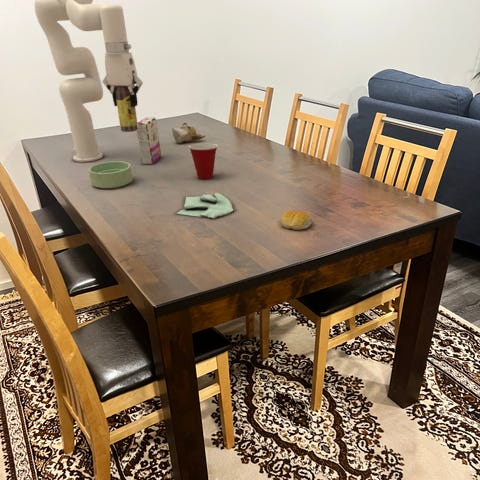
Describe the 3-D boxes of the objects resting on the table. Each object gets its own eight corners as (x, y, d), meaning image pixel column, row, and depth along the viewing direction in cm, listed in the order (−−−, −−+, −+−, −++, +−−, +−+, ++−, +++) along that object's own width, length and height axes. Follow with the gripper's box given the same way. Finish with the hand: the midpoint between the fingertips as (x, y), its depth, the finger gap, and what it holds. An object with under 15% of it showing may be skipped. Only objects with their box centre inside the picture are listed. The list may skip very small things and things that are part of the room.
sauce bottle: (133, 133, 172) (124, 71, 161) (118, 132, 174) (107, 71, 162) (141, 128, 177) (133, 68, 166) (126, 128, 179) (116, 68, 167)
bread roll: (288, 217, 147) (288, 205, 145) (314, 222, 143) (315, 210, 141) (275, 227, 142) (275, 214, 140) (302, 232, 138) (302, 219, 135)
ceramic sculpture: (166, 122, 225) (194, 119, 232) (168, 141, 230) (195, 138, 237) (177, 126, 218) (205, 123, 225) (178, 146, 222) (206, 142, 229)
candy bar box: (150, 156, 210) (145, 117, 200) (161, 157, 209) (156, 117, 199) (141, 164, 201) (135, 123, 191) (152, 164, 200) (146, 123, 190)
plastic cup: (223, 173, 186) (221, 141, 179) (213, 182, 178) (211, 149, 171) (198, 171, 189) (195, 140, 183) (186, 180, 181) (183, 147, 174)
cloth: (216, 222, 146) (216, 214, 145) (161, 210, 156) (160, 203, 155) (250, 200, 160) (250, 193, 159) (198, 191, 170) (197, 184, 169)
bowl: (83, 184, 181) (80, 168, 178) (117, 174, 191) (114, 159, 187) (107, 192, 173) (104, 176, 169) (141, 181, 182) (138, 165, 178)
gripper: (145, 47, 161) (152, 104, 171) (101, 47, 166) (111, 102, 176) (133, 49, 155) (141, 109, 165) (88, 49, 160) (99, 107, 170)
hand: (125, 105), depth 171 cm, fingers closed on sauce bottle, 6 cm apart
